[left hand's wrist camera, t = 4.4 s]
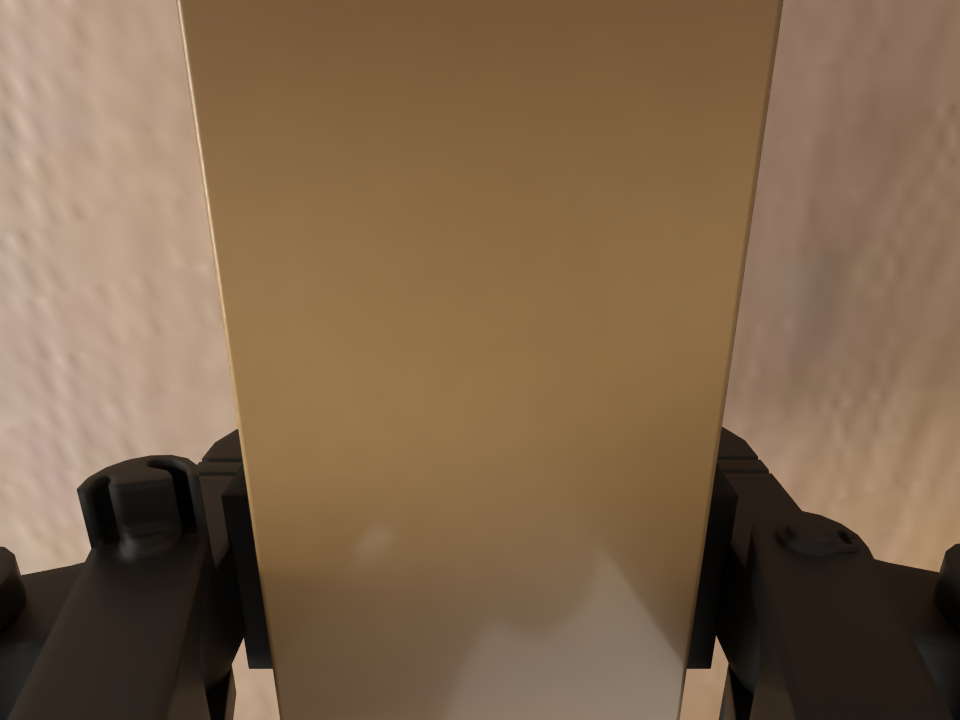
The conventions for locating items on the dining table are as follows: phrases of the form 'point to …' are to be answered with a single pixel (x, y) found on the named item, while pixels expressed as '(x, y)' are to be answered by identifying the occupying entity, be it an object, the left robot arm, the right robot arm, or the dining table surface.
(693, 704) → the dining table surface
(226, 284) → the bar
